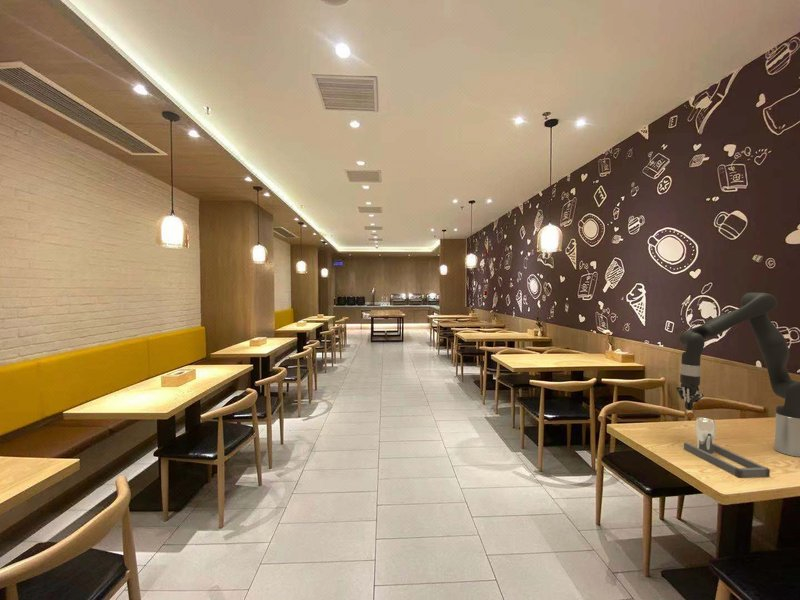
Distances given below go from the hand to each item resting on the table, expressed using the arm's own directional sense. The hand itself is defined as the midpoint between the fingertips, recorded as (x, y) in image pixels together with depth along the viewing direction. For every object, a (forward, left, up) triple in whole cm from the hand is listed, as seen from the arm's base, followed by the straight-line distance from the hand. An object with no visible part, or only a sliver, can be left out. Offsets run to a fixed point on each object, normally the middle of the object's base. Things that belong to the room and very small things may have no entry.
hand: (688, 409), depth 173 cm
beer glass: (0, +9, -17) cm, 19 cm away
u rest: (0, +17, -17) cm, 24 cm away
